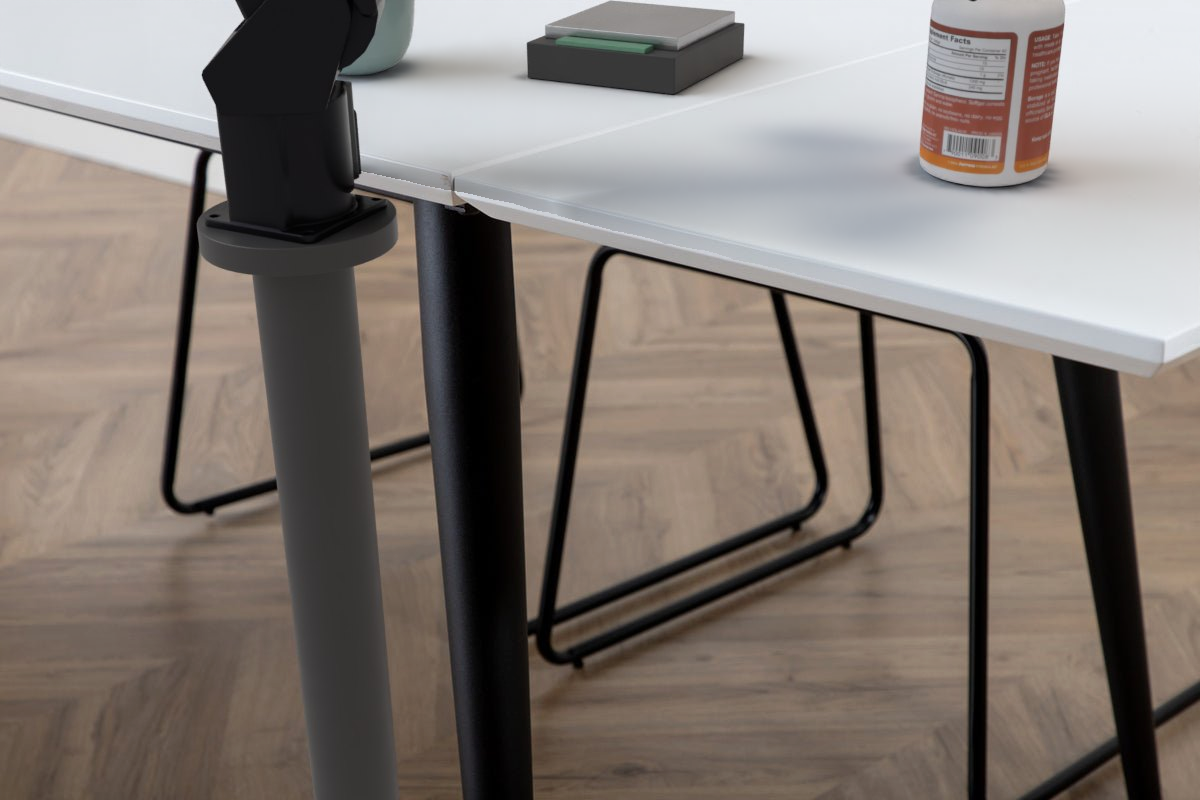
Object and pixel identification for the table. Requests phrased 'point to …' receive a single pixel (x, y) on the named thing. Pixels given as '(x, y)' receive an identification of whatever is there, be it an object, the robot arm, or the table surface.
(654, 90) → the kitchen scale
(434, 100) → the table surface
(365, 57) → the cup
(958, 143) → the pill bottle
